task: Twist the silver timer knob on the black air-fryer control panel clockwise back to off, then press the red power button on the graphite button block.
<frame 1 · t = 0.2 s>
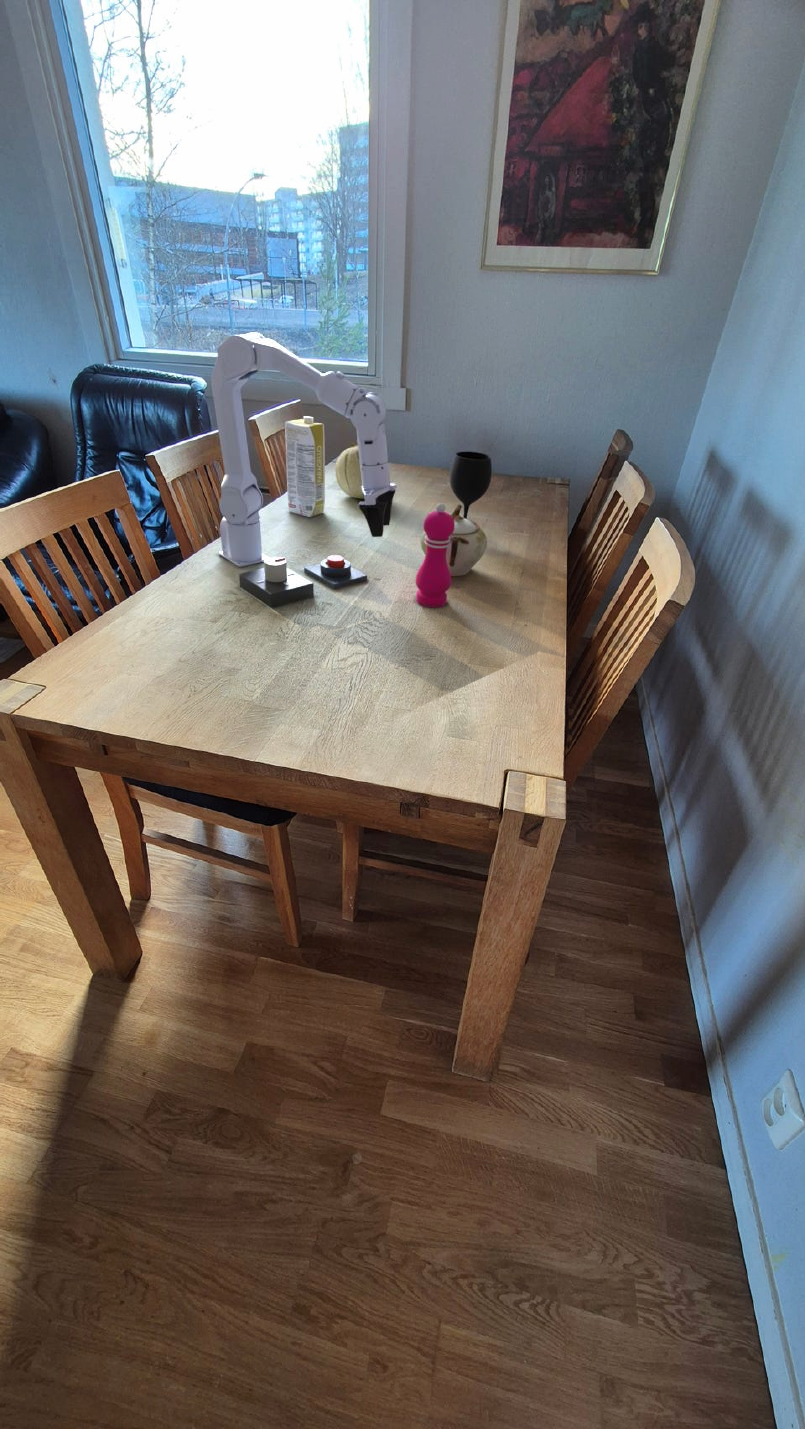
hand: (381, 530, 130), 11 cm above the table, tool pointing down, fingers open, 7 cm apart
pepper mill: (431, 601, 128), on the table
sugar bowl: (450, 570, 143), on the table
cantaloupe: (359, 498, 185), on the table
wine glass: (462, 535, 163), on the table
button block: (335, 576, 135), on the table
power button: (335, 561, 133), point 3 cm above the table, slide at 0.2 cm
juice carton: (306, 513, 170), on the table
timer knob: (275, 568, 123), point 5 cm above the table, hinge at 90.0°
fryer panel: (276, 592, 126), on the table
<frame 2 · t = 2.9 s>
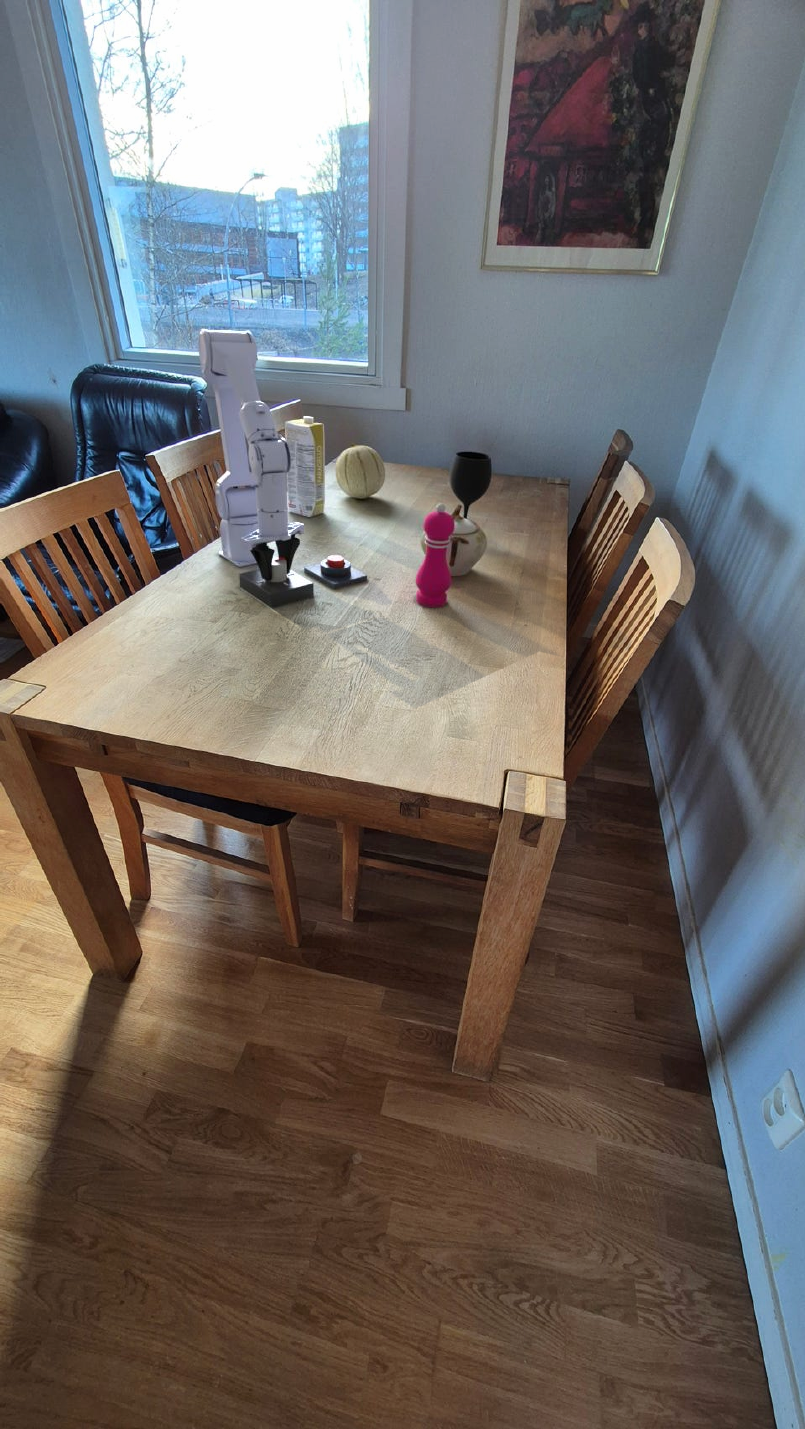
hand: (275, 575, 124), 4 cm above the table, tool pointing down, fingers closed on timer knob, 4 cm apart
timer knob: (275, 568, 123), point 5 cm above the table, hinge at 90.0°, touching gripper
everything else where it was.
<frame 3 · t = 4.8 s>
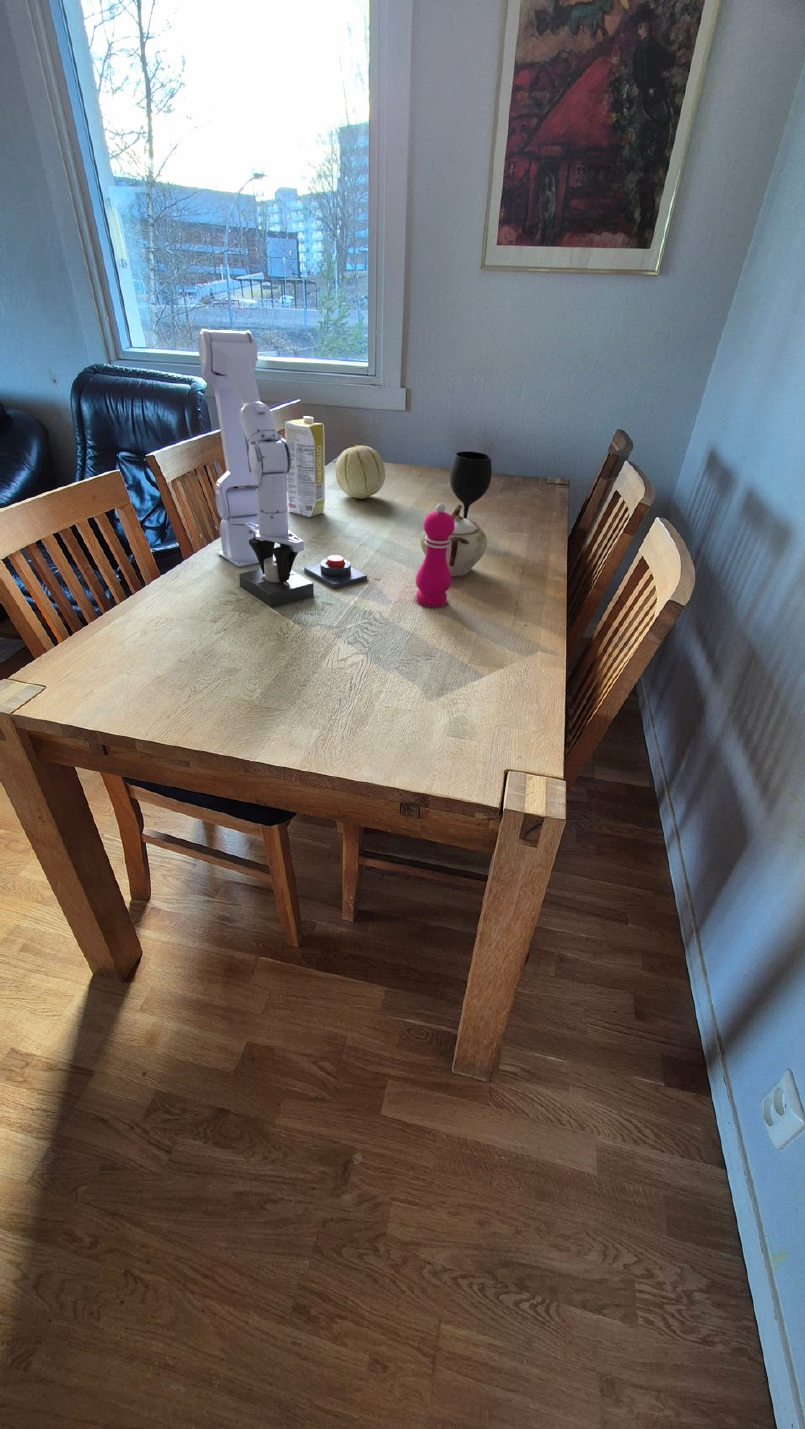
hand: (275, 576, 124), 3 cm above the table, tool pointing down, fingers closed on timer knob, 4 cm apart
timer knob: (275, 568, 123), point 5 cm above the table, hinge at 0.0°, touching gripper
everything else where it was.
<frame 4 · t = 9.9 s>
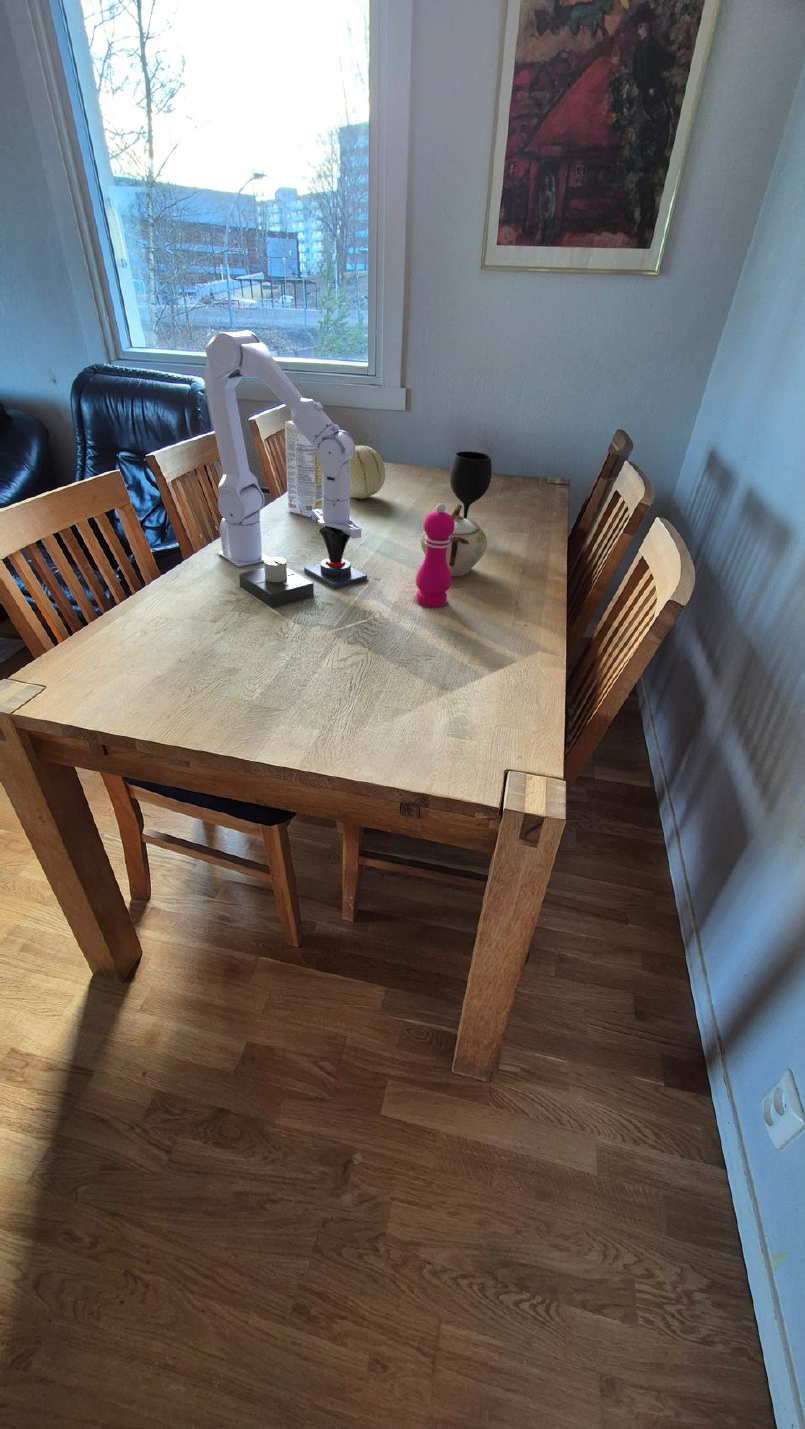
hand: (335, 561, 133), 3 cm above the table, tool pointing down, fingers closed, pressing on power button
power button: (335, 564, 133), point 3 cm above the table, slide at -0.6 cm, touching gripper
timer knob: (275, 568, 123), point 5 cm above the table, hinge at -0.2°
everything else where it was.
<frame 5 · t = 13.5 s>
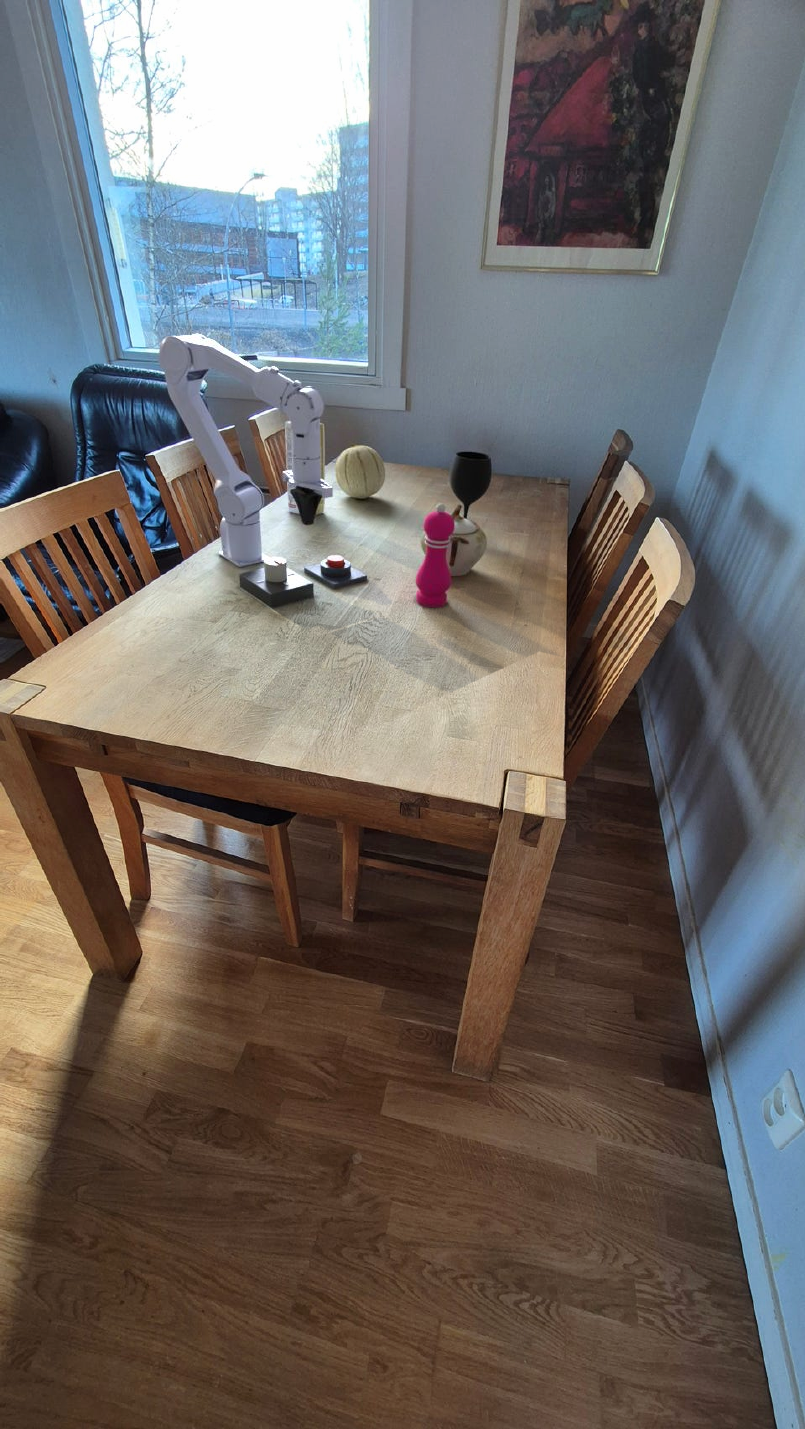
hand: (308, 523, 131), 10 cm above the table, tool pointing down, fingers closed
power button: (335, 561, 133), point 3 cm above the table, slide at 0.2 cm
everything else where it was.
at the end: timer knob at +0° (first picture: +90°); power button pushed in 1.2 cm at the most during the clip, back to 0.2 cm at the end; power button slide at 0.2 cm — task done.
